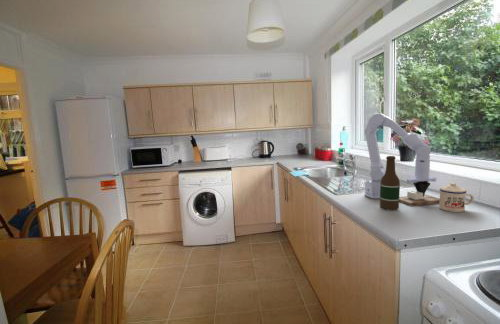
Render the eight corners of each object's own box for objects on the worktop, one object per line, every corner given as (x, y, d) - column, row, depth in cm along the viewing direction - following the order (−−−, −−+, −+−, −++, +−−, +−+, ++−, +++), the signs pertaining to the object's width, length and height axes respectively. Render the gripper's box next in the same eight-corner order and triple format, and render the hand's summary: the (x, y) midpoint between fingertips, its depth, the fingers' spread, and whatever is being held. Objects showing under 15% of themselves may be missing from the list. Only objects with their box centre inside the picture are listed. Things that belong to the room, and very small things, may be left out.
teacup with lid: (443, 211, 106) (444, 185, 104) (435, 205, 114) (436, 180, 113) (478, 213, 102) (480, 186, 100) (467, 207, 110) (469, 181, 109)
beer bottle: (396, 206, 116) (398, 155, 113) (401, 211, 108) (403, 157, 105) (378, 205, 118) (379, 155, 115) (381, 210, 111) (382, 157, 108)
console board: (410, 206, 115) (410, 202, 115) (394, 200, 125) (394, 197, 125) (443, 202, 118) (443, 199, 118) (425, 197, 128) (425, 194, 127)
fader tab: (415, 199, 118) (415, 193, 118) (407, 197, 123) (407, 191, 122) (422, 199, 119) (423, 192, 118) (414, 196, 123) (414, 190, 123)
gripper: (415, 171, 114) (414, 199, 116) (442, 169, 117) (441, 197, 118) (404, 169, 121) (403, 196, 123) (429, 167, 124) (428, 193, 125)
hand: (420, 196), depth 121 cm, fingers closed
